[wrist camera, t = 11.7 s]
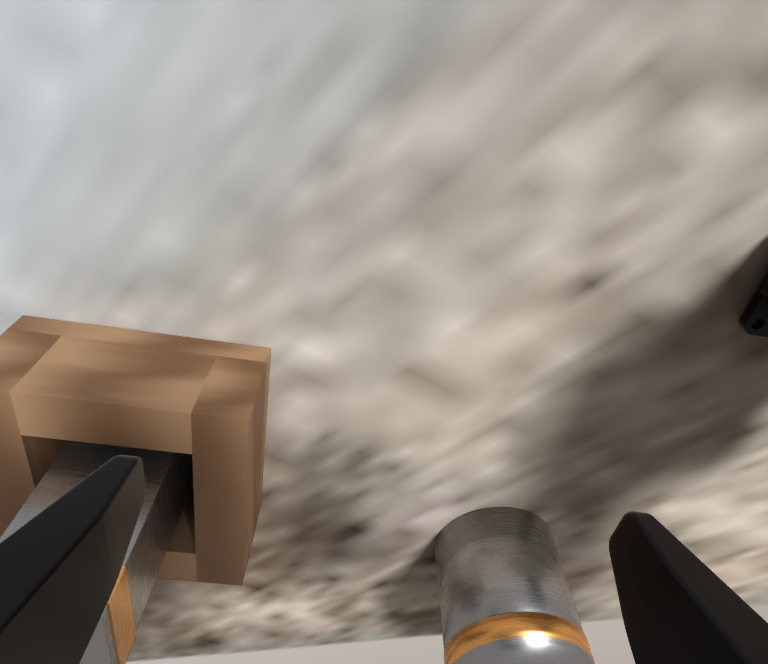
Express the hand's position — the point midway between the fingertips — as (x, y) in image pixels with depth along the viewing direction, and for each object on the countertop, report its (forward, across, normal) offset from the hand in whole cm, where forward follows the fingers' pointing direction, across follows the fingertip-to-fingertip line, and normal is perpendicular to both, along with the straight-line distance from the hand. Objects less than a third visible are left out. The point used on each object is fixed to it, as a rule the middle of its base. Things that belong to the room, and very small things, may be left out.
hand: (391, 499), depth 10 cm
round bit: (+12, -9, +17) cm, 23 cm away
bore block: (+12, +9, +10) cm, 18 cm away
